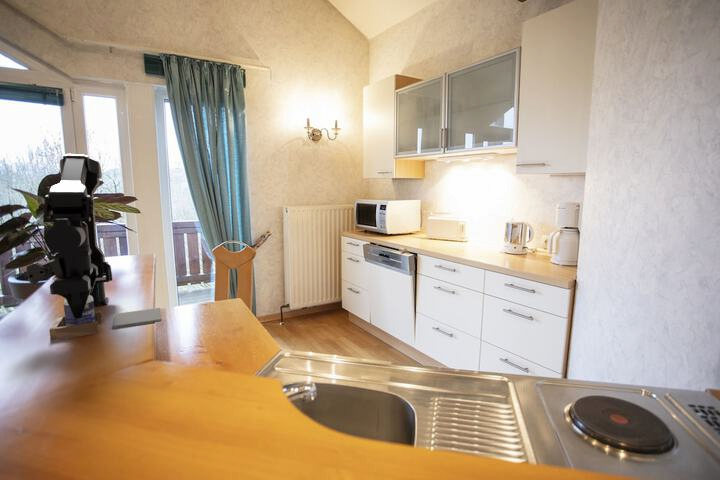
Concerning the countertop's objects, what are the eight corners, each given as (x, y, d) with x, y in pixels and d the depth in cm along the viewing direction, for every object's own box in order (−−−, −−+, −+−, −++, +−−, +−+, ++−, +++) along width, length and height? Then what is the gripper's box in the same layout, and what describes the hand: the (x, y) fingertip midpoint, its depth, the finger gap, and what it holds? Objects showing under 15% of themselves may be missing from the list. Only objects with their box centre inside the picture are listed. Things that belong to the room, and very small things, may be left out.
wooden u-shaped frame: (59, 326, 85) (58, 316, 85) (102, 320, 89) (101, 311, 89) (50, 340, 77) (49, 329, 77) (97, 333, 81) (96, 322, 81)
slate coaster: (115, 316, 92) (115, 313, 92) (160, 309, 97) (159, 307, 97) (112, 328, 84) (111, 326, 84) (161, 321, 89) (161, 318, 89)
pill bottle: (80, 334, 80) (75, 291, 79) (60, 332, 81) (55, 290, 80) (101, 326, 86) (98, 285, 84) (82, 324, 87) (79, 284, 85)
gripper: (36, 243, 85) (44, 308, 87) (11, 256, 69) (21, 335, 71) (95, 241, 90) (100, 301, 93) (84, 251, 74) (91, 325, 77)
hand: (80, 314), depth 83 cm, fingers closed on pill bottle, 5 cm apart
